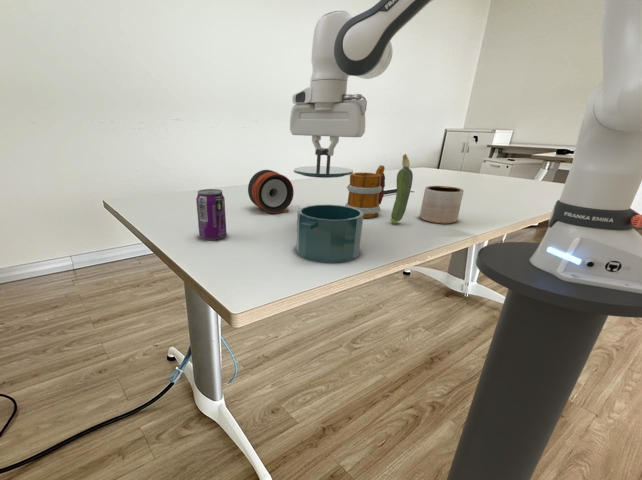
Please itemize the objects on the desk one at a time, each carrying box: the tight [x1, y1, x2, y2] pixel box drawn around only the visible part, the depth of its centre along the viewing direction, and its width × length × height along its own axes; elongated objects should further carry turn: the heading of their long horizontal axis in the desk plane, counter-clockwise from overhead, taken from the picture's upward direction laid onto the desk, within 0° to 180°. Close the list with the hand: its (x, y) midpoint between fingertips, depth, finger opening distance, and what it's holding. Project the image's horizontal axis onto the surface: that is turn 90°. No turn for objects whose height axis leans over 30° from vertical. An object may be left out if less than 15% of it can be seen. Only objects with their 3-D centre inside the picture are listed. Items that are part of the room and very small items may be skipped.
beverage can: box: [195, 188, 227, 241], centre depth 88 cm, size 7×7×12 cm
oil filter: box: [247, 169, 294, 214], centre depth 116 cm, size 13×12×13 cm
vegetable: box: [390, 153, 414, 225], centre depth 99 cm, size 4×4×20 cm
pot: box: [295, 204, 364, 264], centre depth 80 cm, size 15×20×10 cm
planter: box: [419, 185, 465, 225], centre depth 106 cm, size 11×11×10 cm
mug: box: [344, 164, 386, 219], centre depth 112 cm, size 11×16×15 cm, turn 131°
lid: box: [293, 147, 354, 179], centre depth 90 cm, size 16×16×6 cm
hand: (324, 155), depth 89 cm, fingers closed on lid
